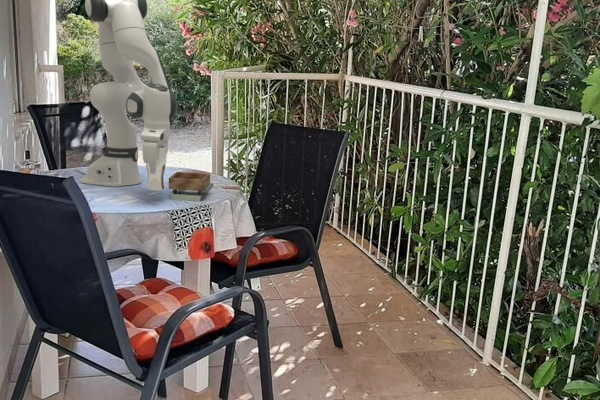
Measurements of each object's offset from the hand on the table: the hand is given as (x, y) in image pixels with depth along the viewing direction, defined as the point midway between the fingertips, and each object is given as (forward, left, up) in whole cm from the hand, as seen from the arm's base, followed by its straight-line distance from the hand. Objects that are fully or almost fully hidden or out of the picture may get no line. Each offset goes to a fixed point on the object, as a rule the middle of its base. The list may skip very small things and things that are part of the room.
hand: (155, 171), depth 212 cm
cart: (+10, +8, -9) cm, 16 cm away
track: (+10, +15, -10) cm, 21 cm away
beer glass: (0, 0, -6) cm, 6 cm away
